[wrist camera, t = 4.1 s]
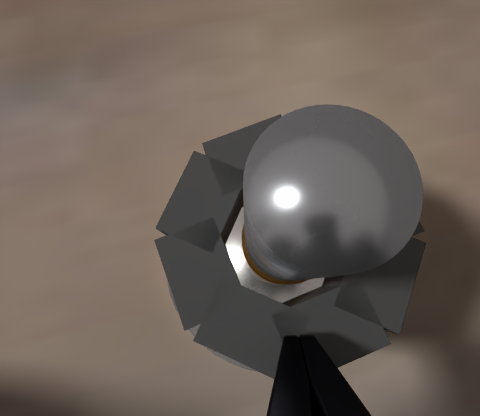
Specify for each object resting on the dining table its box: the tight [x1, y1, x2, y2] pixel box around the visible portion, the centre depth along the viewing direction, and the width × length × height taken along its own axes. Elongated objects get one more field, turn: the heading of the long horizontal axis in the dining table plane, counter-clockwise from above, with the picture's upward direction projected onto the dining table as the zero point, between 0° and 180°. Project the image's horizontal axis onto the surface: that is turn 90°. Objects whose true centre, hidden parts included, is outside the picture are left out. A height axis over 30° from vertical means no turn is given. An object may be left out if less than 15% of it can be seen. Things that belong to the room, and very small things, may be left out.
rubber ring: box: [155, 114, 426, 379], centre depth 11 cm, size 8×8×2 cm
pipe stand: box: [166, 105, 423, 372], centre depth 11 cm, size 11×11×12 cm
